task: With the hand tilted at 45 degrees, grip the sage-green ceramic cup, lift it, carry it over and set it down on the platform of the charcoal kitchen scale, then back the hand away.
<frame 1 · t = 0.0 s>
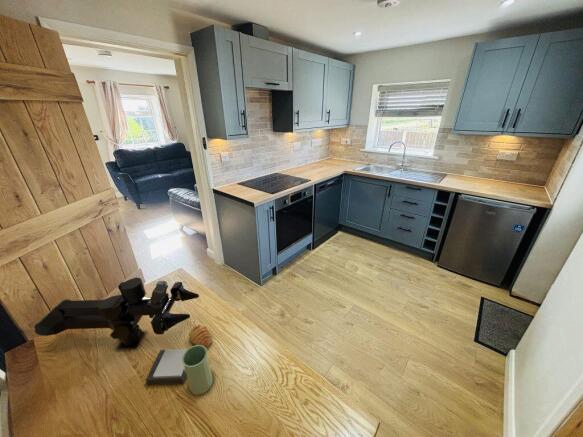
hand: (194, 305, 82), 17 cm above the table, tool horizontal, fingers open, 9 cm apart
pastry: (201, 338, 89), on the table
scale: (172, 368, 78), on the table
cup: (201, 382, 74), on the table
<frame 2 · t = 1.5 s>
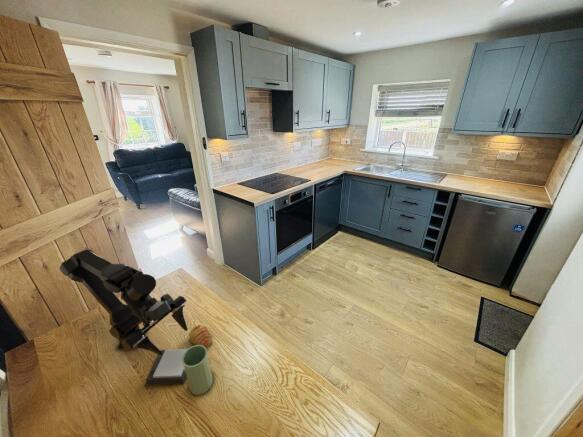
hand: (174, 342, 72), 14 cm above the table, tool tilted 45°, fingers open, 9 cm apart
nothing on the table moved.
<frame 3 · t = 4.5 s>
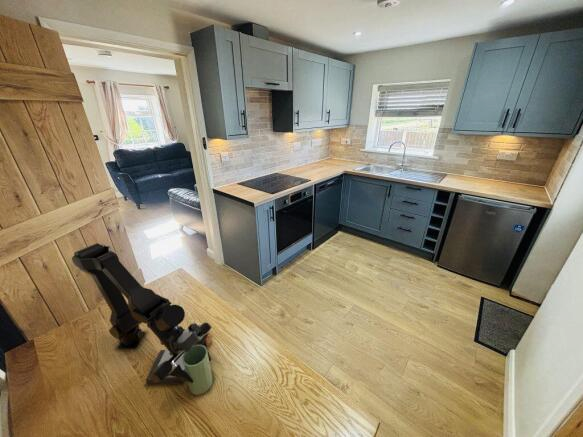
hand: (201, 371, 71), 7 cm above the table, tool tilted 45°, fingers closed on cup, 7 cm apart
cup: (201, 383, 74), on the table, touching gripper
everything else where it was.
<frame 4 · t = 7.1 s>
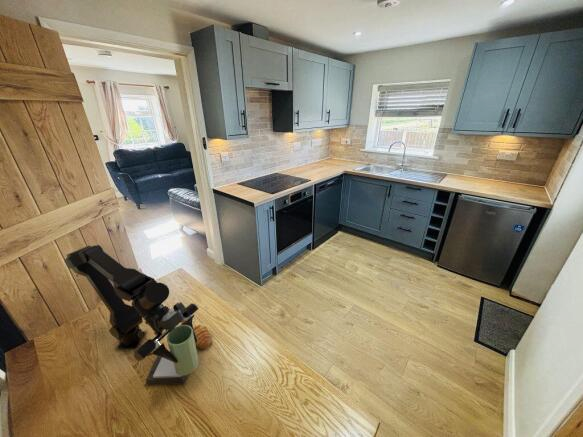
hand: (186, 351, 70), 13 cm above the table, tool tilted 45°, fingers closed on cup, 7 cm apart
cup: (186, 364, 73), point 7 cm above the table, touching gripper
everything else where it was.
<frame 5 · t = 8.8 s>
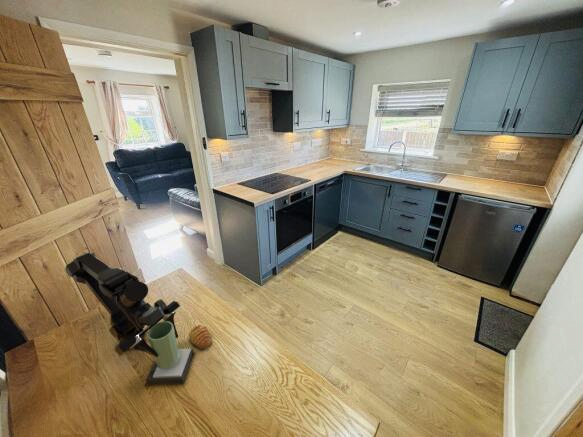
hand: (167, 346, 73), 11 cm above the table, tool tilted 45°, fingers closed on cup, 7 cm apart
cup: (168, 359, 76), point 5 cm above the table, touching gripper
everything else where it was.
when the fingers open (10 cm above the table, at t = 9.8 s): cup stays where it is, resting on scale.
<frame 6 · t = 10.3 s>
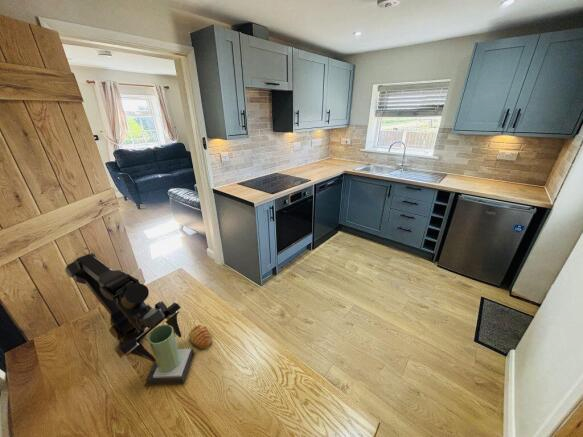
hand: (168, 348, 73), 11 cm above the table, tool tilted 45°, fingers open, 9 cm apart
cup: (169, 361, 77), point 3 cm above the table, touching scale
everything else where it was.
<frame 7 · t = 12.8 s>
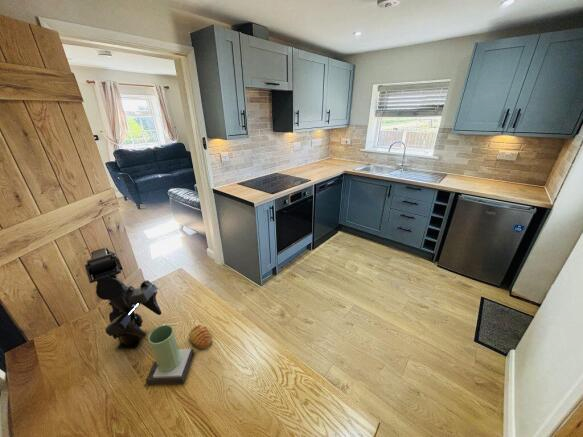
hand: (153, 324, 79), 13 cm above the table, tool tilted 35°, fingers open, 9 cm apart
nothing on the table moved.
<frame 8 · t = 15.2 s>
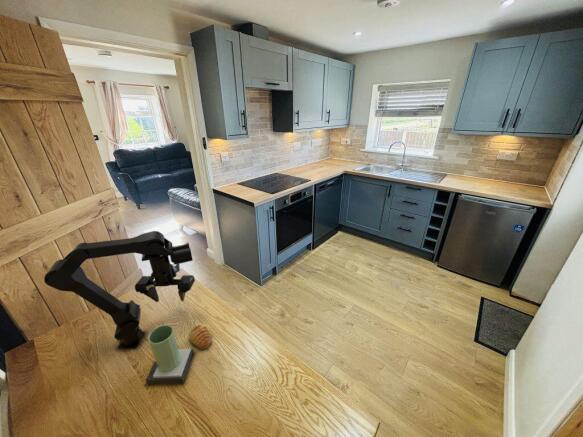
hand: (170, 301, 88), 13 cm above the table, tool pointing down, fingers open, 9 cm apart
nothing on the table moved.
at the end: cup inside the target area on the scale (0.3 cm from its centre), point 3.3 cm above the scale's base; cup tilted 0°; the gripper is holding nothing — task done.
